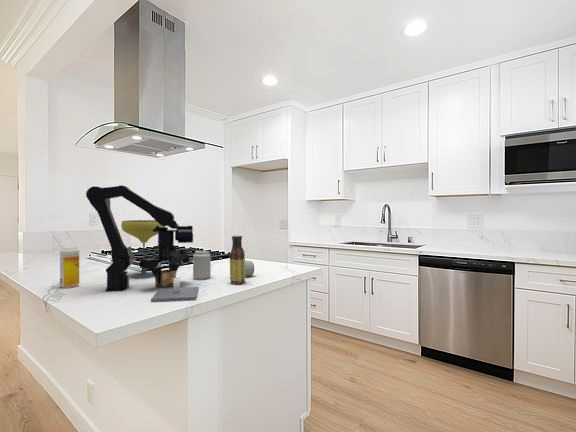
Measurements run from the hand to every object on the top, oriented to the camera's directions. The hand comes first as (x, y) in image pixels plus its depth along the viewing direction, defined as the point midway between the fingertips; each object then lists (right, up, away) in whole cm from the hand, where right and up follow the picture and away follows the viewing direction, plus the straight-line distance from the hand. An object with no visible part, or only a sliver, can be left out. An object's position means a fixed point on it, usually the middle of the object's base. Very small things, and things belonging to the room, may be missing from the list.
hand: (165, 282), depth 121 cm
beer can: (-36, -1, -2) cm, 37 cm away
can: (+10, -2, +16) cm, 18 cm away
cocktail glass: (-17, -1, +19) cm, 26 cm away
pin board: (+9, -2, -12) cm, 15 cm away
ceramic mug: (+27, -2, +21) cm, 34 cm away
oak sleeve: (0, -2, 0) cm, 2 cm away
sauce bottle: (+27, -2, +7) cm, 28 cm away
